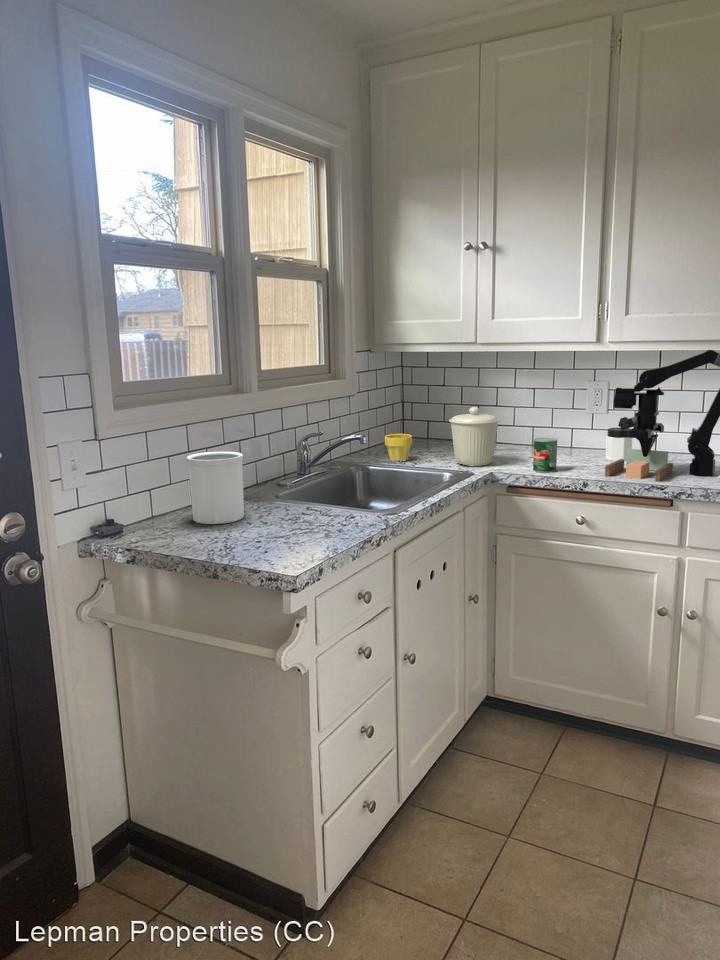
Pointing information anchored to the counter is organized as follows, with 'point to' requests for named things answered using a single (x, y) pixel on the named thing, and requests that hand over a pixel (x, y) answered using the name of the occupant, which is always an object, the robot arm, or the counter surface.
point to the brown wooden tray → (619, 466)
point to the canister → (474, 437)
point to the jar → (617, 444)
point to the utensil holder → (216, 487)
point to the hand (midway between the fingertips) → (645, 456)
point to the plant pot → (398, 446)
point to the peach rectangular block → (637, 469)
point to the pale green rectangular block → (648, 458)
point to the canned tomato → (545, 455)
